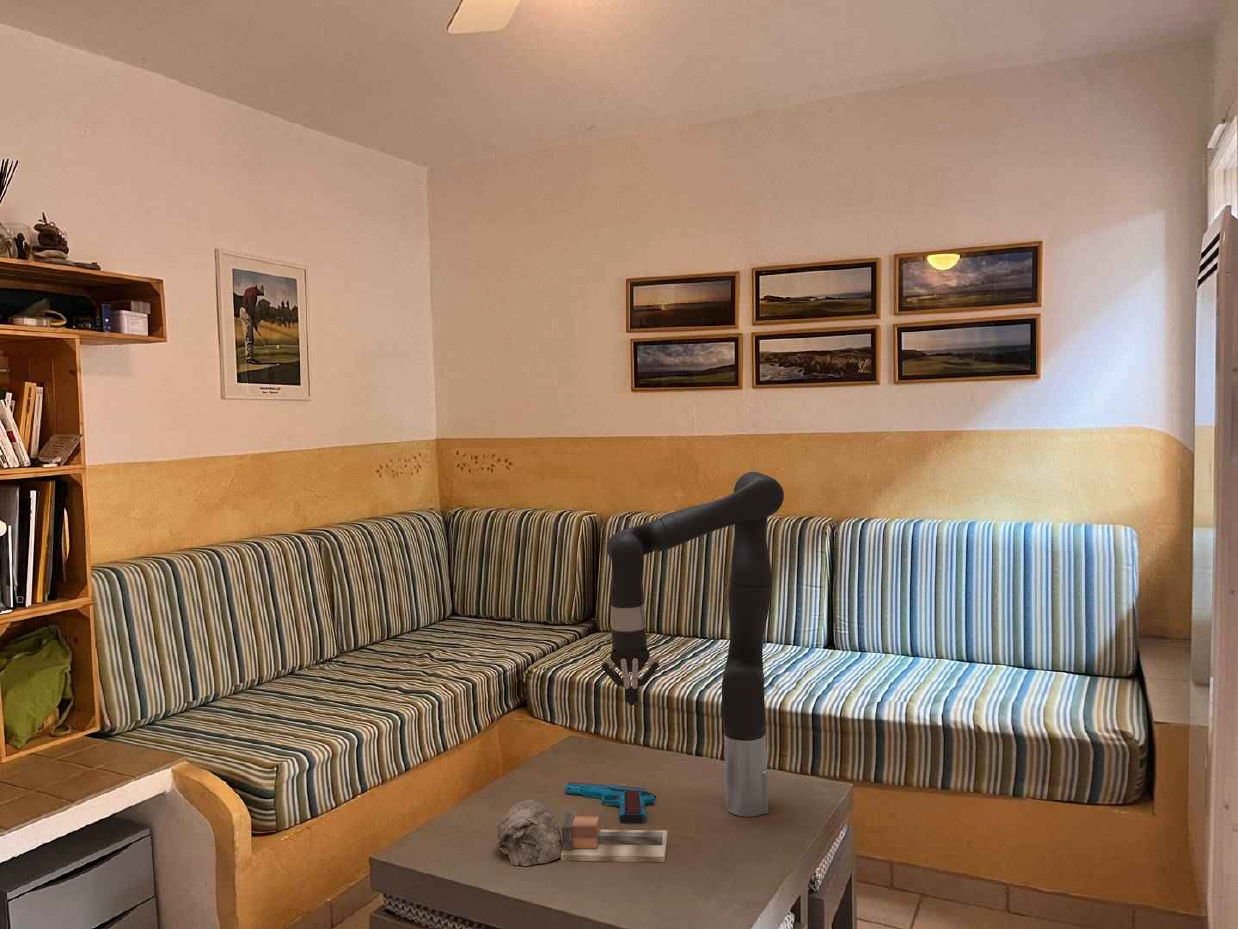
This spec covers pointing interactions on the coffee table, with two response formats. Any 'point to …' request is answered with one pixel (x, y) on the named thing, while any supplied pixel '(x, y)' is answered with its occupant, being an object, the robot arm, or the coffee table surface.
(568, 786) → the handgun
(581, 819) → the slider block
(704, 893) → the coffee table surface
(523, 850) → the rock
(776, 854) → the coffee table surface
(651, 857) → the rail board
